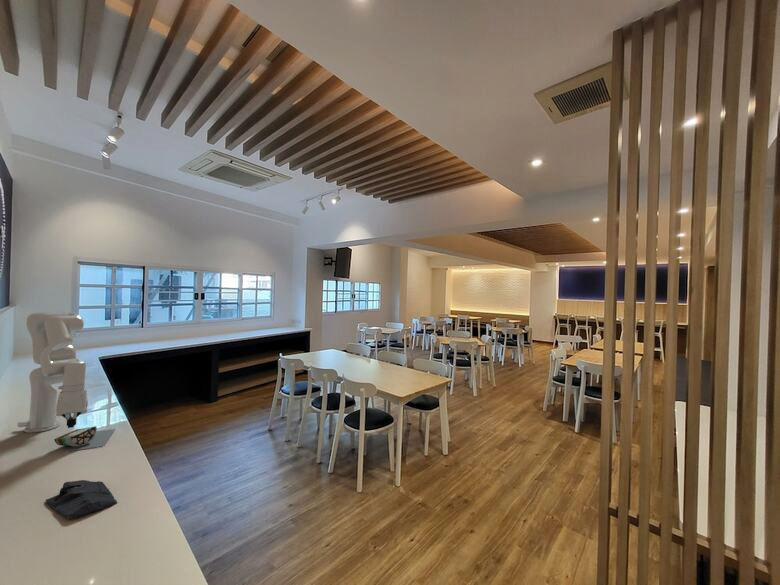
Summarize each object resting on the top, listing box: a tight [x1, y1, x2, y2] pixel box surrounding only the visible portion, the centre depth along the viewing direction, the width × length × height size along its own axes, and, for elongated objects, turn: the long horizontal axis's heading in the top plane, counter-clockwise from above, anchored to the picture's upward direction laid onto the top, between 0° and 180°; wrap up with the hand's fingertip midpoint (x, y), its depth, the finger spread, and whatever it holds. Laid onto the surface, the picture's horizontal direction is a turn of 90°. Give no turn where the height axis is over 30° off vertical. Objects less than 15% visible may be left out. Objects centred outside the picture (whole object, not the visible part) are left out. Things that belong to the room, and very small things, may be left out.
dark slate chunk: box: [45, 479, 118, 520], centre depth 111 cm, size 15×22×5 cm
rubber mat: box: [67, 428, 116, 453], centre depth 157 cm, size 12×22×1 cm, turn 30°
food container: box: [53, 425, 98, 447], centre depth 151 cm, size 12×6×10 cm
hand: (71, 426), depth 153 cm, fingers closed
